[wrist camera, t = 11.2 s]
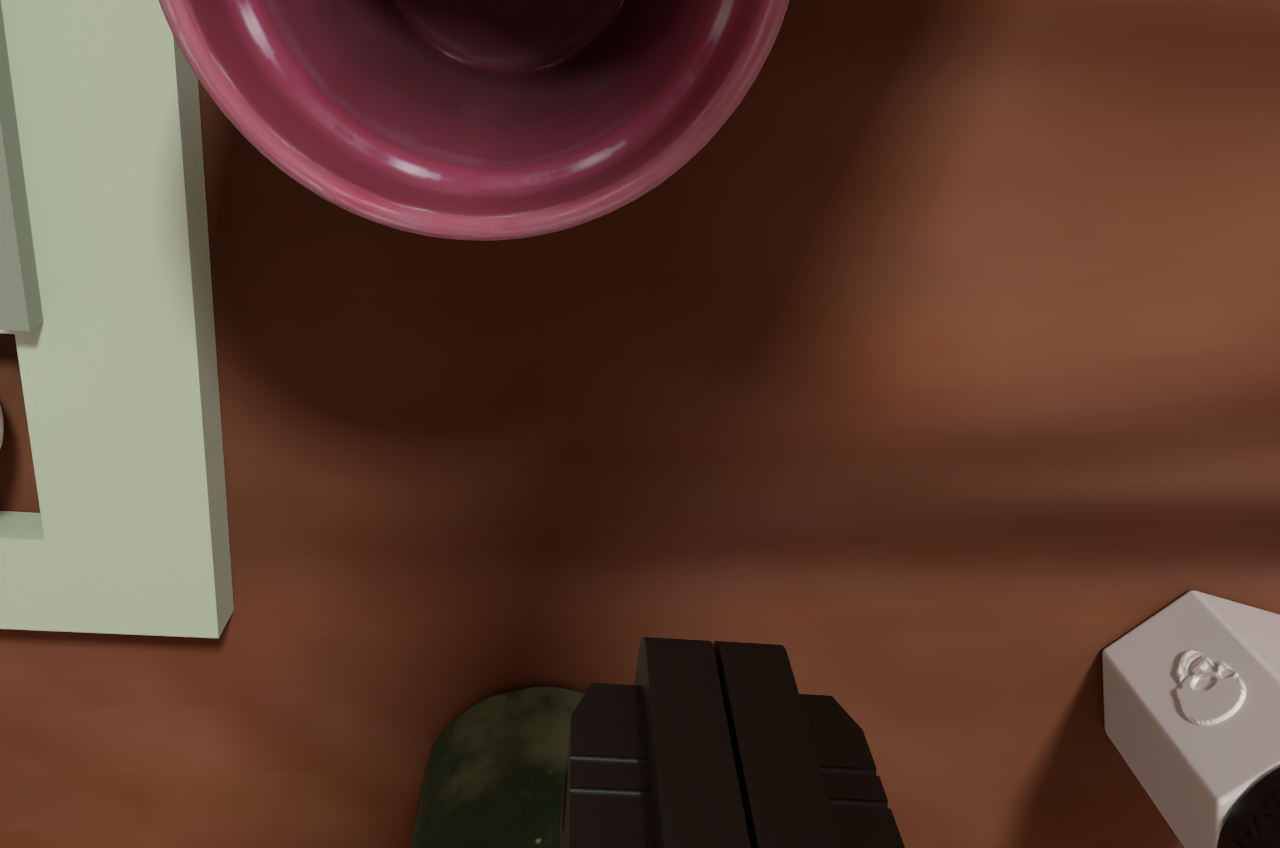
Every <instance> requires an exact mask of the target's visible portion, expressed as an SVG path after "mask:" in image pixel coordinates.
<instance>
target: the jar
mask: <svg viewBox="0 0 1280 848" xmlns="http://www.w3.org/2000/svg"><path fill="white" fill-rule="evenodd" d="M1102 664H1103V694H1104V723H1105V732H1106V734H1107V735H1108V737H1109V738H1110V740H1111V741H1112V743H1113V744H1114V745H1115V747H1116V748H1117V750H1118V751H1119V753H1120V754H1121V756H1122V757H1123V759H1124V760H1125V762H1126V763H1127V764H1128V766H1129V767H1130V769H1131V770H1132V772H1133V773H1134V775H1135V776H1136V778H1137V779H1138V781H1139V782H1140V783H1141V785H1142V786H1143V788H1144V789H1145V791H1146V792H1147V794H1148V795H1149V797H1150V798H1151V800H1152V801H1153V802H1154V804H1155V805H1156V807H1157V808H1158V810H1159V811H1160V813H1161V814H1162V816H1163V817H1164V819H1165V820H1166V822H1167V823H1168V824H1169V826H1170V827H1171V829H1172V830H1173V832H1174V833H1175V835H1176V836H1177V838H1178V839H1179V841H1180V842H1181V843H1182V845H1183V846H1184V848H1280V615H1279V614H1276V613H1272V612H1269V611H1265V610H1262V609H1258V608H1255V607H1251V606H1248V605H1244V604H1241V603H1237V602H1234V601H1230V600H1227V599H1223V598H1220V597H1216V596H1213V595H1209V594H1206V593H1202V592H1199V591H1195V590H1191V591H1188V592H1187V593H1185V594H1184V595H1182V596H1181V597H1179V598H1178V599H1176V600H1175V601H1174V602H1172V603H1171V604H1169V605H1168V606H1166V607H1165V608H1163V609H1162V610H1160V611H1159V612H1157V613H1156V614H1154V615H1153V616H1152V617H1150V618H1149V619H1147V620H1146V621H1144V622H1143V623H1141V624H1140V625H1138V626H1137V627H1135V628H1134V629H1132V630H1131V631H1130V632H1128V633H1127V634H1125V635H1124V636H1122V637H1121V638H1119V639H1118V640H1116V641H1115V642H1113V643H1112V644H1110V645H1109V646H1108V647H1106V648H1105V649H1104V650H1103V652H1102Z"/></svg>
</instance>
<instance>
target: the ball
mask: <svg viewBox="0 0 1280 848" xmlns="http://www.w3.org/2000/svg"><path fill="white" fill-rule="evenodd" d="M3 434H4V420H3V414H2V408H1V405H0V449H1V445H2V441H3Z"/></svg>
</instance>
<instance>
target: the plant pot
mask: <svg viewBox="0 0 1280 848" xmlns="http://www.w3.org/2000/svg"><path fill="white" fill-rule="evenodd" d="M158 1H159V3H160V6H161V8H162V11H163V13H164V15H165V18H166V20H167V23H168V25H169V27H170V29H171V31H172V33H173V36H174V38H175V40H176V42H177V44H178V46H179V48H180V50H181V52H182V54H183V55H184V57H185V59H186V60H187V62H188V64H189V65H190V67H191V69H192V70H193V72H194V73H195V75H196V76H197V78H198V79H199V81H200V82H201V84H202V85H203V86H204V88H205V89H206V91H207V92H208V94H209V95H210V97H211V98H212V99H213V101H214V102H215V103H216V105H217V106H218V107H219V108H220V110H221V111H222V112H223V113H224V115H225V116H226V117H227V118H228V119H229V120H230V121H231V123H232V124H233V125H234V126H235V127H236V128H237V129H238V131H239V132H240V133H241V134H242V135H243V136H244V137H245V138H246V139H247V140H248V141H249V142H250V143H251V144H252V145H253V146H254V147H255V148H257V149H258V150H259V152H260V153H262V154H263V155H264V156H265V157H266V158H267V159H269V160H270V161H271V162H272V163H273V164H274V165H275V166H277V167H278V168H279V169H281V170H282V171H283V172H284V173H286V174H287V175H288V176H290V177H291V178H293V179H294V180H295V181H297V182H298V183H300V184H301V185H303V186H304V187H306V188H307V189H309V190H310V191H312V192H314V193H315V194H317V195H318V196H320V197H322V198H324V199H325V200H327V201H329V202H331V203H333V204H335V205H337V206H339V207H341V208H343V209H345V210H347V211H349V212H351V213H353V214H356V215H358V216H361V217H363V218H365V219H368V220H370V221H373V222H376V223H379V224H382V225H385V226H388V227H392V228H395V229H398V230H402V231H407V232H411V233H415V234H420V235H425V236H430V237H437V238H446V239H454V240H477V241H491V240H508V239H519V238H527V237H533V236H540V235H544V234H548V233H553V232H557V231H561V230H565V229H568V228H571V227H574V226H577V225H580V224H583V223H586V222H589V221H591V220H594V219H596V218H599V217H601V216H604V215H606V214H608V213H611V212H612V211H614V210H616V209H618V208H620V207H622V206H624V205H626V204H628V203H630V202H632V201H634V200H635V199H637V198H639V197H640V196H642V195H644V194H645V193H647V192H648V191H650V190H652V189H653V188H655V187H657V186H658V185H660V184H661V183H662V182H663V181H665V180H666V179H667V178H669V177H670V176H671V175H673V174H674V173H675V172H676V171H678V170H679V169H680V168H681V167H683V166H684V165H685V164H686V163H687V162H688V161H689V160H690V159H691V158H692V157H694V156H695V155H696V154H697V153H698V152H699V151H700V150H701V149H702V148H703V147H704V146H705V145H706V144H707V143H708V142H709V141H710V140H711V138H712V137H713V136H714V135H715V134H716V133H717V132H718V130H719V129H720V128H721V127H722V126H723V124H724V123H725V122H726V121H727V119H728V118H729V117H730V116H731V114H732V113H733V112H734V111H735V109H736V108H737V107H738V105H739V104H740V103H741V101H742V100H743V98H744V97H745V95H746V93H747V92H748V90H749V89H750V87H751V86H752V84H753V83H754V81H755V80H756V78H757V76H758V74H759V72H760V70H761V68H762V66H763V64H764V62H765V61H766V59H767V57H768V55H769V53H770V51H771V49H772V46H773V44H774V42H775V40H776V37H777V35H778V32H779V30H780V28H781V25H782V22H783V19H784V16H785V13H786V10H787V7H788V4H789V0H158Z"/></svg>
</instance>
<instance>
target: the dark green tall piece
mask: <svg viewBox="0 0 1280 848" xmlns="http://www.w3.org/2000/svg"><path fill="white" fill-rule="evenodd" d="M584 694H585V693H581V692H576V691H572V690H567V689H563V688H558V687H532V688H527V689H522V690H518V691H513V692H509V693H504V694H500V695H495V696H492V697H489V698H487V699H485V700H483V701H481V702H479V703H477V704H475V705H473V706H472V707H470V708H469V709H468V710H467V711H466V712H464V713H463V714H462V715H461V716H460V717H458V718H457V719H456V720H455V721H454V722H452V723H451V724H450V725H449V726H447V727H446V728H445V729H444V730H443V732H442V733H441V735H440V736H439V737H438V739H437V740H436V742H435V743H434V745H433V749H432V752H431V755H430V759H429V762H428V766H427V769H426V772H425V776H424V781H423V786H422V792H421V797H420V802H419V808H418V813H417V818H416V824H415V829H414V834H413V840H412V845H411V848H560V823H561V813H562V802H563V792H564V782H565V772H566V762H567V752H568V742H569V732H570V721H571V714H572V713H573V711H574V710H575V708H576V707H577V705H578V704H579V702H580V701H581V699H582V697H583V696H584Z"/></svg>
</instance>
